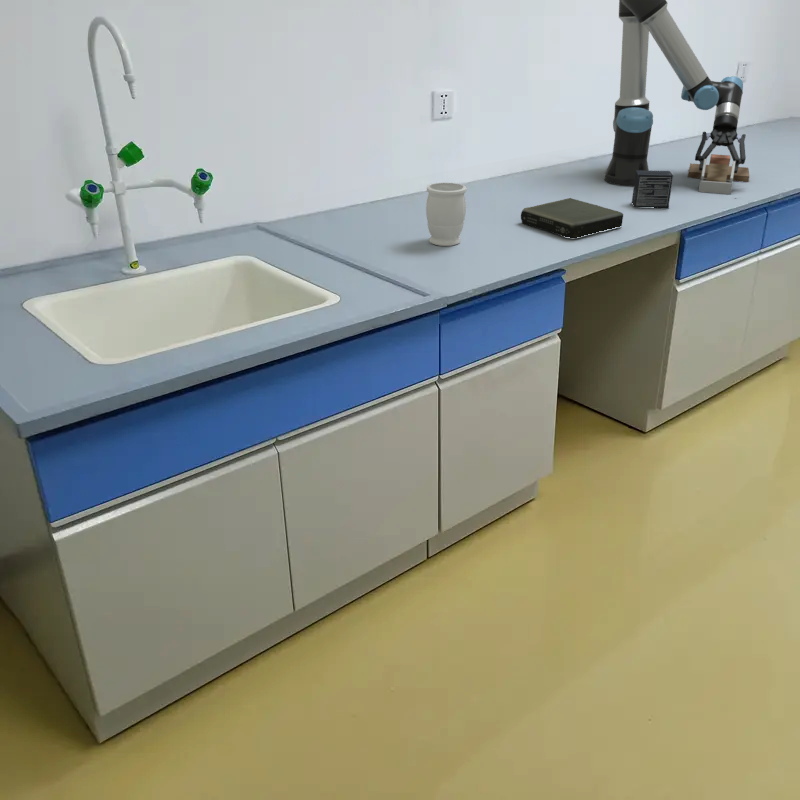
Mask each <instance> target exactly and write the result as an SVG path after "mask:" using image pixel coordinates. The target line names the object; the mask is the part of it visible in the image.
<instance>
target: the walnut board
mask: <svg viewBox="0 0 800 800" xmlns="http://www.w3.org/2000/svg"><path fill="white" fill-rule="evenodd" d="M699 166H700V163H689V167H688V174H687V178H688V177H692V178H691V179H700V178H701V176H702V170H699ZM708 169H709V164H706V167H705V173H704V178H707V174H708ZM731 169H732V165H729V169H728V174H727V179H726V180H730V176H731ZM749 179H750V171H749V167H744V166H743V167H741V166H739V167H738V172H737V173H734V175H733V180H732V182H739V181H743V183H749Z"/></svg>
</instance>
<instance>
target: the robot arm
mask: <svg viewBox="0 0 800 800" xmlns="http://www.w3.org/2000/svg"><path fill="white" fill-rule="evenodd" d="M618 19H620V21H621V22H622V40H621V63H620V84H619V86H620V87H619V89H620V90H619V98H618V99H617V100H616V101H615V102H614V115H613V116H614V117H613V121H612V128H613V131H614V140H613V149H612V155H611V159H610V162H609V164H608V165H607V168H606V171H605V172H604V176H603V177H604V182H607V183H608V184H612V185H616V186H622V187H623V186H625V187H634V181H635V173H636V170H643V171H650V170H649V164H648V156H649V155H648V154H649V147H650V141H651V133H652V127H653V124H654V115H653V113H652V111H651V110H650V100H649V99H648V98H647V96H646V92H647V91H646V90H647V89H646V87H647V72H648V59H649V58H648V57H649V56H648V55H649V42H650V41H649V40H650V39H649V38H650V34H651V36H652V38H653V41H655V43H656V44H657V46H658V48H659V49H660V51H661V53H662V54H663V55H664V57H665V58H666V61H667V62H668V63H669V65H670V67H671V69H672V70H673V71H674V73H675V75H676V76H677V77H678V79H679V81H680V82H681V84H682V85H683V87H682V89H681V94H680V95H681V96H680V98H681V100H684V101H687V102H692V103H693V104H694V105H695V107H696V108H697V109H699V110H702V111H709V110H711V109H713V108H714V107H715V106H716V108H715V114H714V120H713V125H712V130H711V131H710V132H706V131H702V134H701V135H702V136H701V141H700V143H699V146H698V147H697V151H696V154H695V156H694V160H695V161H696V162H697V161H698V162H699V164H700V166H699V170H702V176H701V180H702V181H703V179H704V173H705V167H706V165H707V160H708V159H707V158H708V157H709V156H710V154H712V152H713V151H714V149H715V148H716V147H721V146H722V147H727V149H728V150H729V153H730V157H731V158H732V164H731V166H732V169H731V176H730V182H729V183H732V184H733V181H732V180H733V175H734V173H737V172H738V167H740V165H744V164H745V163H746V157H747V156H746V148H745V146H746V144H745V140H746V134H744V133H743V134H742V135H740V134H738V133H737V130H738V123H739V118H740V117H739V116H740V110H741V103H742V97H743V93H744V92H743V91H744V82H743V80H742V79H741V78H740V77H738V76H734V75H732V76H726V77H723V79H722V80H721V81H714V80H711V79H710V77H709V76H708V74H707V72H706V70H705V69H704V67H703V66H702V64H701V62H700V61H699V59H698V58H697V56H696V54H695V53H694V51H693V49H692V47H691V46H690V44H689V43H688V41H687V39H686V38H685V36H684V34H683V33H682V31H681V30H680V28H679V27H678V25H677V22H675V19H674V18H673V16H672V15H671V13H670V12H669V9H668V1H667V0H619V3H618ZM710 138H711V143H710V145H708V146H707V148H706V149H705V151H704V152H703V149H704V147H705V145H706V143H707V141H708V140H709V139H710ZM735 140H737V142H738V143H739V145H738V147H739V154H738V152H737V149H736V147H735V144H734V141H735ZM702 152H703V153H702ZM701 154H702V155H701Z"/></svg>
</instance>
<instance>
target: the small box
mask: <svg viewBox="0 0 800 800" xmlns="http://www.w3.org/2000/svg"><path fill="white" fill-rule="evenodd" d="M673 179H674V174H673V173H672V172H671V171H670V170H649V171H643V170H636V173H635V181H634V186H633V188H632V190H633V191H632V199H631V204H632V203H633V205H634V206H633V205H632V206H633V208H634V207H654V208H653V209H661V208H668V209H669V208H670V199H671V192H672V186H673Z"/></svg>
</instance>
